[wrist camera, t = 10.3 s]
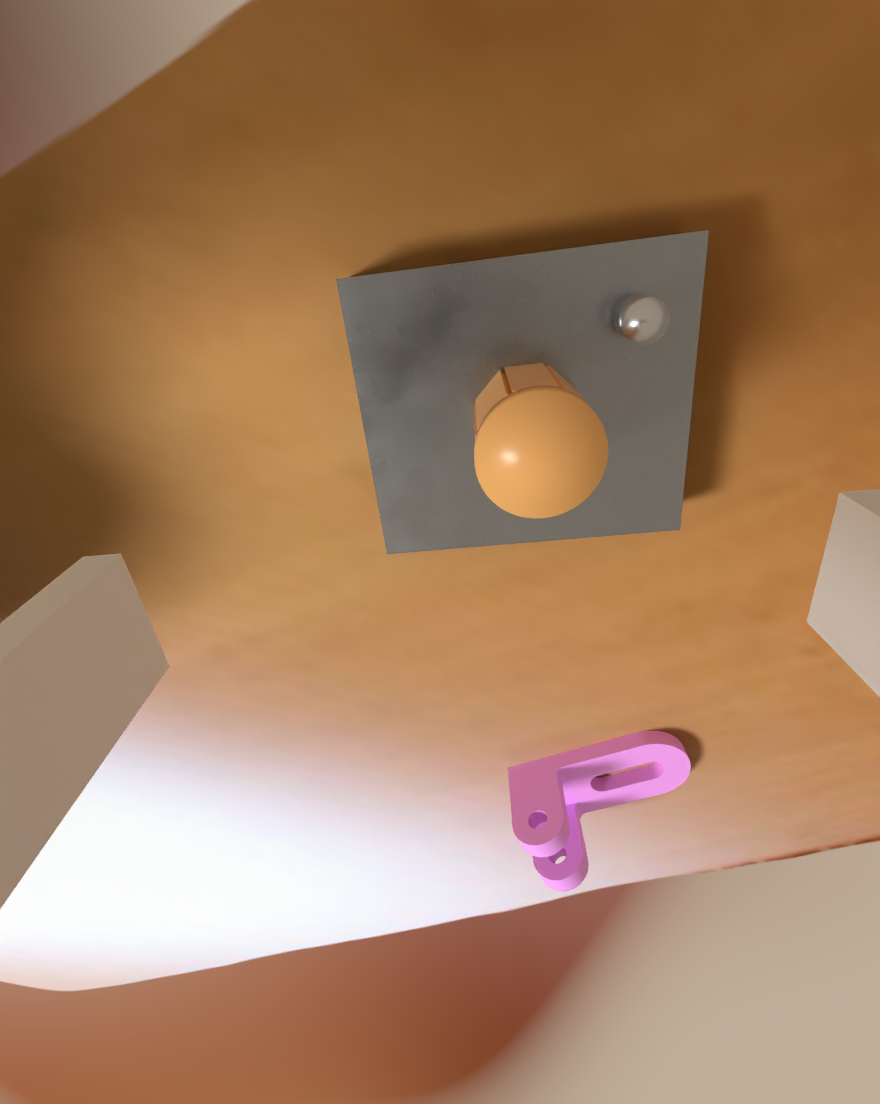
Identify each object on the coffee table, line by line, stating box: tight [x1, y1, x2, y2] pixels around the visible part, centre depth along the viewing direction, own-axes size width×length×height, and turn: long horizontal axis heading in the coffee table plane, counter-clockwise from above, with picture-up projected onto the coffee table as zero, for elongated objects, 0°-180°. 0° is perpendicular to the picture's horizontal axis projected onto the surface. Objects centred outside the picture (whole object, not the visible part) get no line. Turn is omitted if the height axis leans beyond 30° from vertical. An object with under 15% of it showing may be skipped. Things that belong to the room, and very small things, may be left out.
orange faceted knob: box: [474, 363, 608, 519], centre depth 24 cm, size 5×5×6 cm
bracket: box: [508, 731, 691, 891], centre depth 40 cm, size 13×6×7 cm, turn 115°
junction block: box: [336, 230, 709, 554], centre depth 27 cm, size 16×14×7 cm
